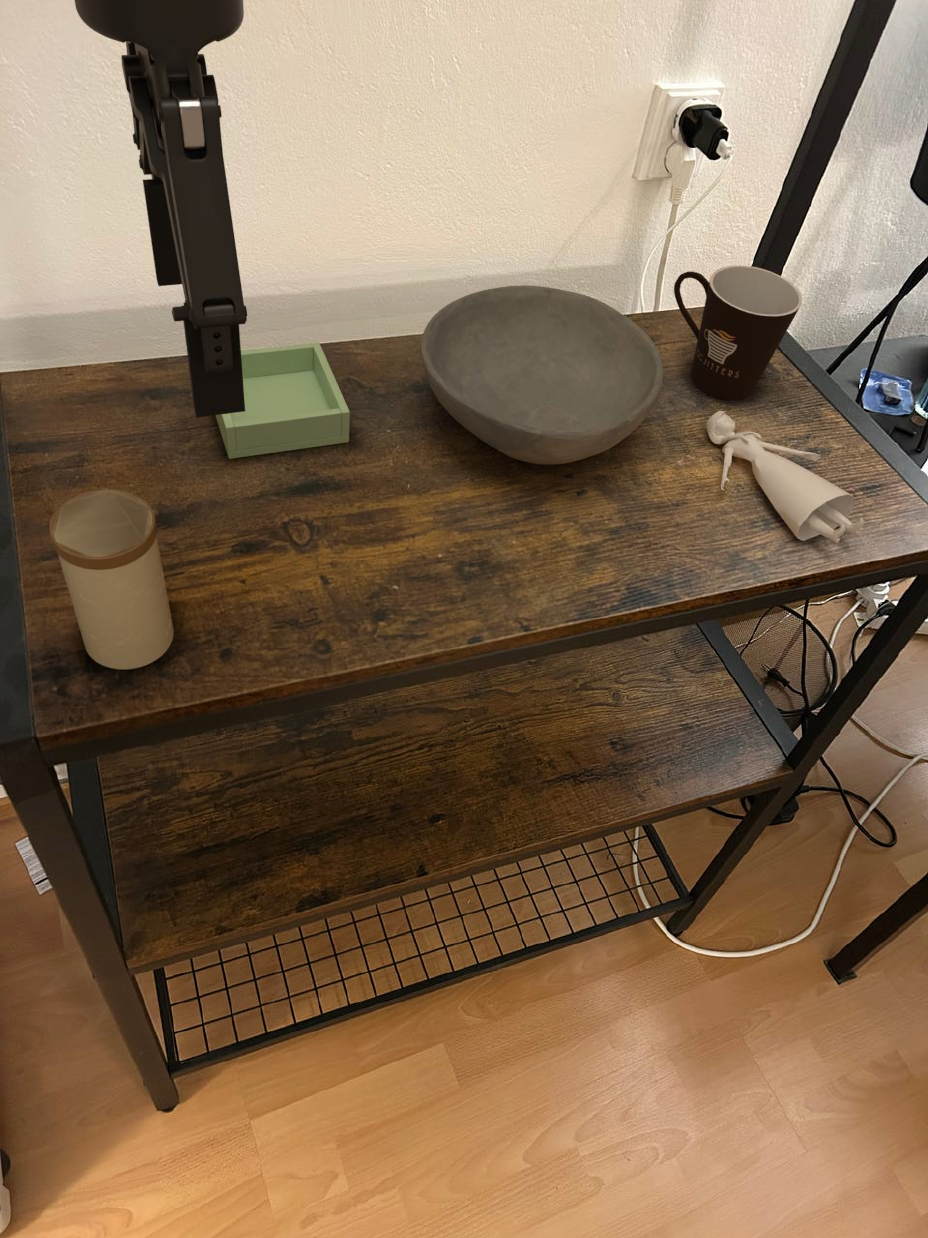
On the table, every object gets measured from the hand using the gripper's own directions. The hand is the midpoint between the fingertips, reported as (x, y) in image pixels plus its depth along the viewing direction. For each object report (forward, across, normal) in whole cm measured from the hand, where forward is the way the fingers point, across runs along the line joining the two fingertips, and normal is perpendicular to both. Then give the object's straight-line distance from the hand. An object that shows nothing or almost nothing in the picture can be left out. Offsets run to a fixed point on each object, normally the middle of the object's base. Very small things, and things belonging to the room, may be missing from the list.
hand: (198, 342), depth 58 cm
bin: (+20, +17, -8) cm, 27 cm away
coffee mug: (+20, +15, -52) cm, 58 cm away
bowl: (+20, +11, -30) cm, 38 cm away
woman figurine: (+20, -2, -48) cm, 52 cm away
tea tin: (+20, -5, +8) cm, 22 cm away
